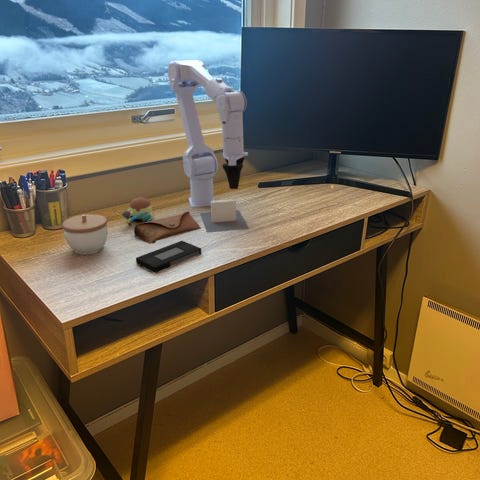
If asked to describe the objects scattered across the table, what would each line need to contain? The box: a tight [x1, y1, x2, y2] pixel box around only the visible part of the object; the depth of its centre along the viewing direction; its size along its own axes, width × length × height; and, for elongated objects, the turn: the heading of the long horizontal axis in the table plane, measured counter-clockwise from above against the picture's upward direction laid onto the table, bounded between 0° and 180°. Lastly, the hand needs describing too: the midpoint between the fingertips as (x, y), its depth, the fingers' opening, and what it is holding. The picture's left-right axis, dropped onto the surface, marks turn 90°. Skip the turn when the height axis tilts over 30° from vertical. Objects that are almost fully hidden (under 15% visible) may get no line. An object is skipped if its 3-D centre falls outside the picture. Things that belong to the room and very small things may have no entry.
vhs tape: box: [135, 240, 202, 274], centre depth 117 cm, size 8×14×2 cm, turn 136°
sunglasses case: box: [133, 211, 202, 245], centre depth 133 cm, size 18×7×7 cm
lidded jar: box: [61, 213, 108, 256], centre depth 121 cm, size 11×11×9 cm
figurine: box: [122, 196, 153, 227], centre depth 141 cm, size 7×10×7 cm
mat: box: [199, 209, 250, 233], centre depth 140 cm, size 16×12×1 cm
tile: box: [210, 198, 237, 222], centre depth 138 cm, size 2×7×6 cm, turn 101°
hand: (234, 185), depth 137 cm, fingers open, 7 cm apart
